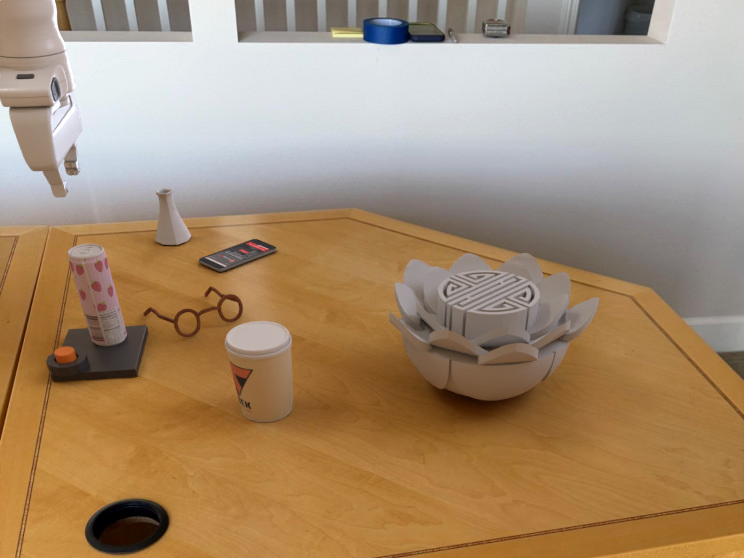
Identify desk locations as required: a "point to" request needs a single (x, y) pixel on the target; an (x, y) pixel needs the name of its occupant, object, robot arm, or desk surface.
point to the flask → (170, 221)
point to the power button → (65, 355)
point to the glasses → (201, 312)
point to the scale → (100, 356)
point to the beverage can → (97, 294)
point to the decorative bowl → (487, 324)
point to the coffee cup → (261, 369)
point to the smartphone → (237, 255)
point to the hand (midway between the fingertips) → (67, 184)
